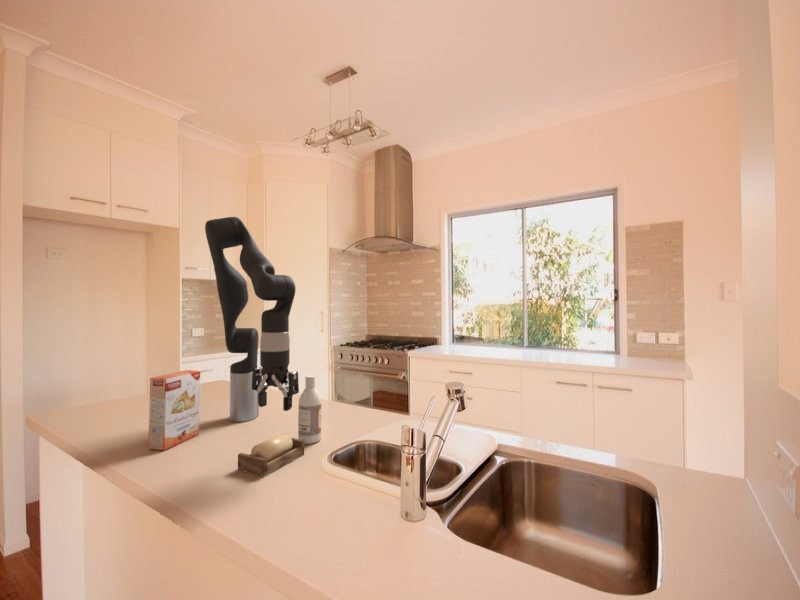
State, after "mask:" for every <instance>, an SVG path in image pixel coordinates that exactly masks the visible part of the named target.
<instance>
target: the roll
mask: <svg viewBox="0 0 800 600" xmlns="http://www.w3.org/2000/svg"><path fill="white" fill-rule="evenodd" d="M292 438H293V437H291V435H290V434H289V433H287V432H282V433H280V434H278V435H276V436H273V437H270V438H269V439H267V440H264V441H263V442H260V443H257V444H256V445H254V446H253V447H252V448H251V452H250V454H251V455H252V456H256V457H260V458H264V459H267V463H268V462H270V461H272V460H274V459H276V458H277V457H279V456H281V455H283V454H285V453H287V452H288V451H290V450H291V448H292V446H293V442H292Z"/></svg>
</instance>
